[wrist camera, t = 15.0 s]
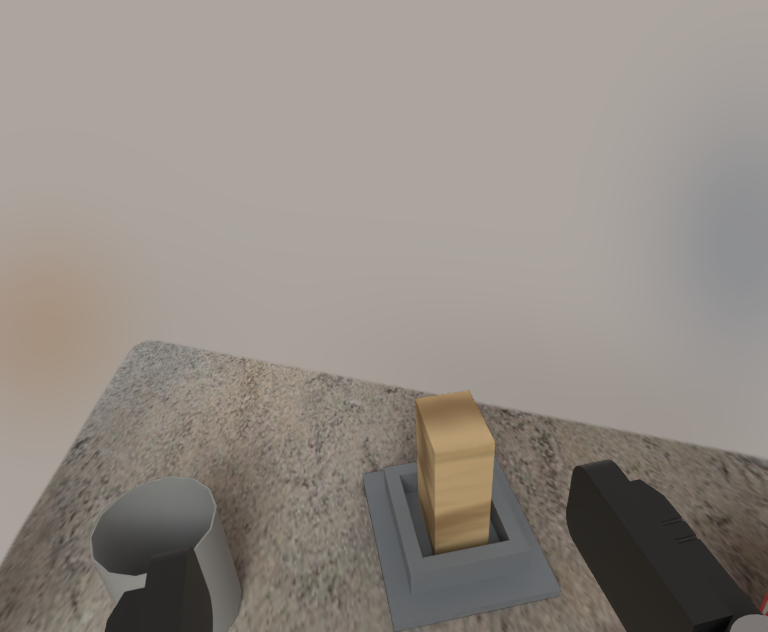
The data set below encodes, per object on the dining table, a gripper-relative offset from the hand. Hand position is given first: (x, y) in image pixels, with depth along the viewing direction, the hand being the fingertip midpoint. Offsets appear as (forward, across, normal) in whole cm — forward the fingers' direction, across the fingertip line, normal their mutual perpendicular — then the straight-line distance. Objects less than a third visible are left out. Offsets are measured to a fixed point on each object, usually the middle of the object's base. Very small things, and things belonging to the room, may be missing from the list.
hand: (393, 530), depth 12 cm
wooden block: (+23, -9, +31) cm, 40 cm away
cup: (+22, +13, +32) cm, 41 cm away
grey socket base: (+23, -9, +32) cm, 40 cm away
